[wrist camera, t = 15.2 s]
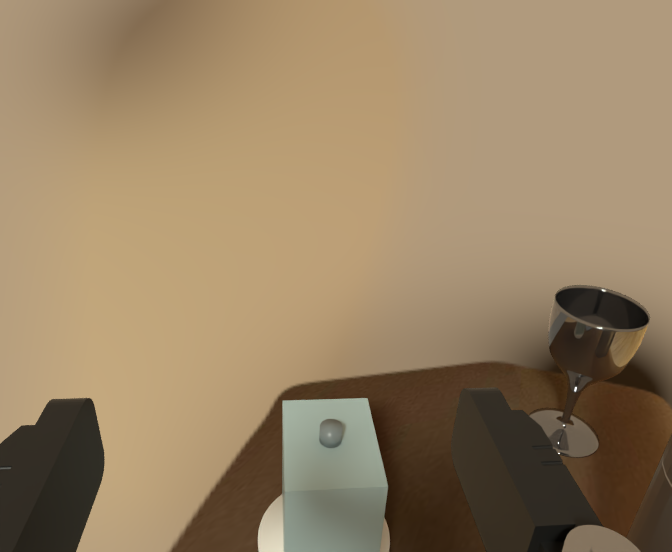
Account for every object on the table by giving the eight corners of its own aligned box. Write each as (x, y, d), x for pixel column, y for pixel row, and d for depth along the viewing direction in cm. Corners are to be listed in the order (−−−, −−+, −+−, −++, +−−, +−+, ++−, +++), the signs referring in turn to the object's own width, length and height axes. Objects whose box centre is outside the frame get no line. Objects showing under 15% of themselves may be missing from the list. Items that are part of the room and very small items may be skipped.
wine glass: (549, 465, 51) (590, 333, 44) (507, 409, 58) (538, 287, 51) (621, 455, 53) (671, 325, 46) (572, 401, 59) (610, 282, 53)
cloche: (358, 488, 46) (368, 385, 41) (375, 584, 39) (389, 472, 34) (282, 492, 46) (282, 388, 41) (284, 591, 38) (284, 477, 33)
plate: (377, 485, 48) (378, 478, 47) (401, 601, 39) (402, 594, 38) (259, 490, 47) (259, 484, 46) (255, 611, 37) (255, 604, 37)
